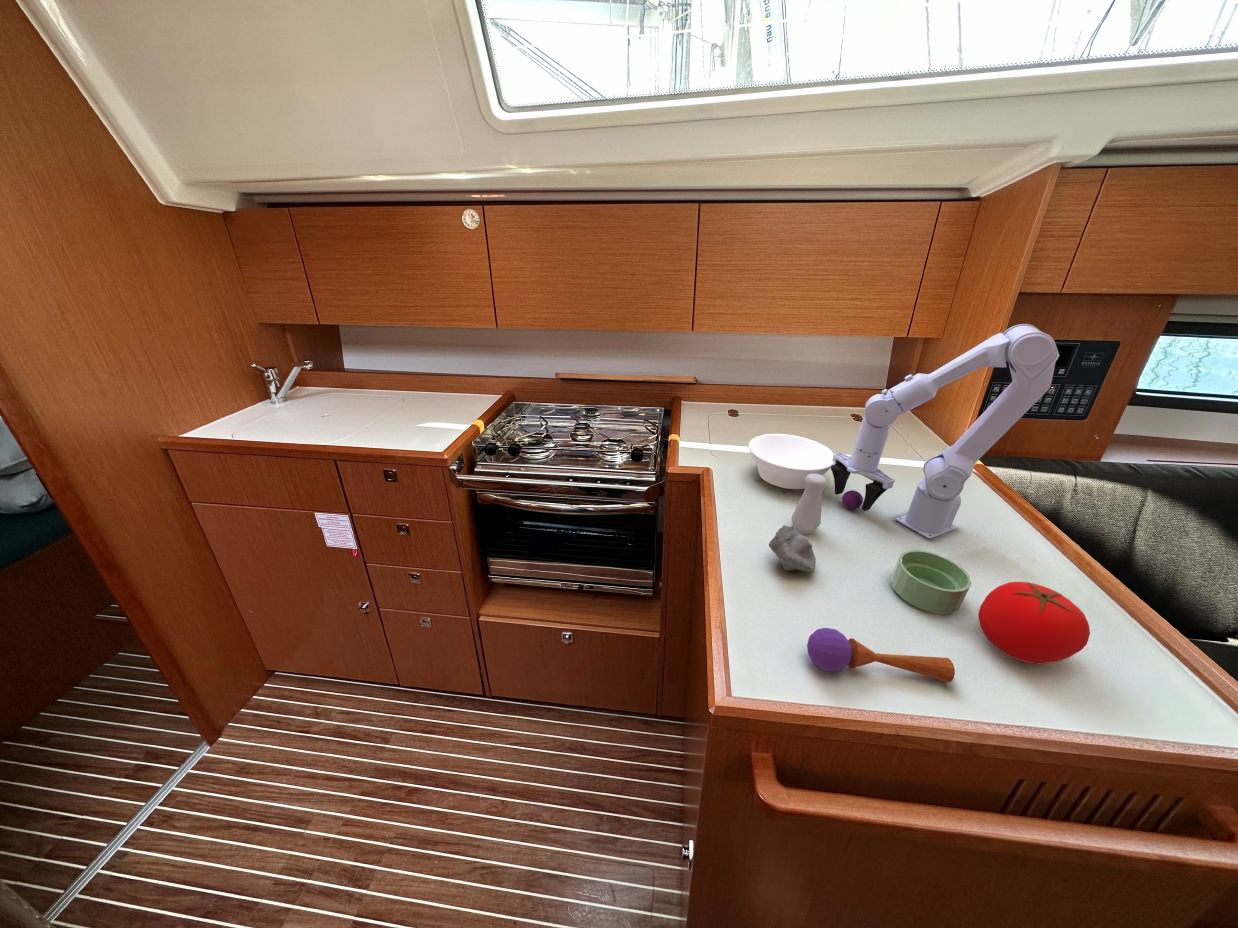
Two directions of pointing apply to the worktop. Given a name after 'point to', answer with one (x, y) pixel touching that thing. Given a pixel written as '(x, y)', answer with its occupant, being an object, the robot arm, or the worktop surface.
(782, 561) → the grey rock
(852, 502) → the ball
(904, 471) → the worktop surface
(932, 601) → the green bowl
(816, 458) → the bowl
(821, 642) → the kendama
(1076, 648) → the tomato
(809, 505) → the salt shaker
